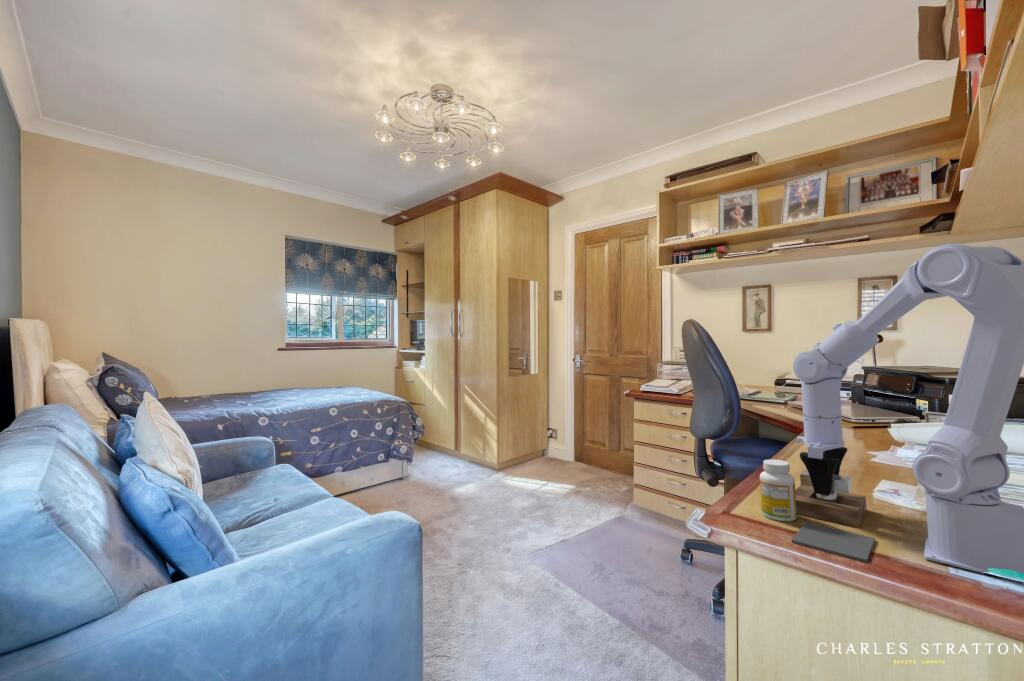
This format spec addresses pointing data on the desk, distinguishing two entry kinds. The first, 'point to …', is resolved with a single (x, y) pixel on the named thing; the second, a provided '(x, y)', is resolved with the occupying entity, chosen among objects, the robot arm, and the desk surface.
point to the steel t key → (838, 485)
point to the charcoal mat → (835, 541)
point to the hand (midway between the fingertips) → (825, 489)
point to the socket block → (831, 506)
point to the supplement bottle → (777, 491)
